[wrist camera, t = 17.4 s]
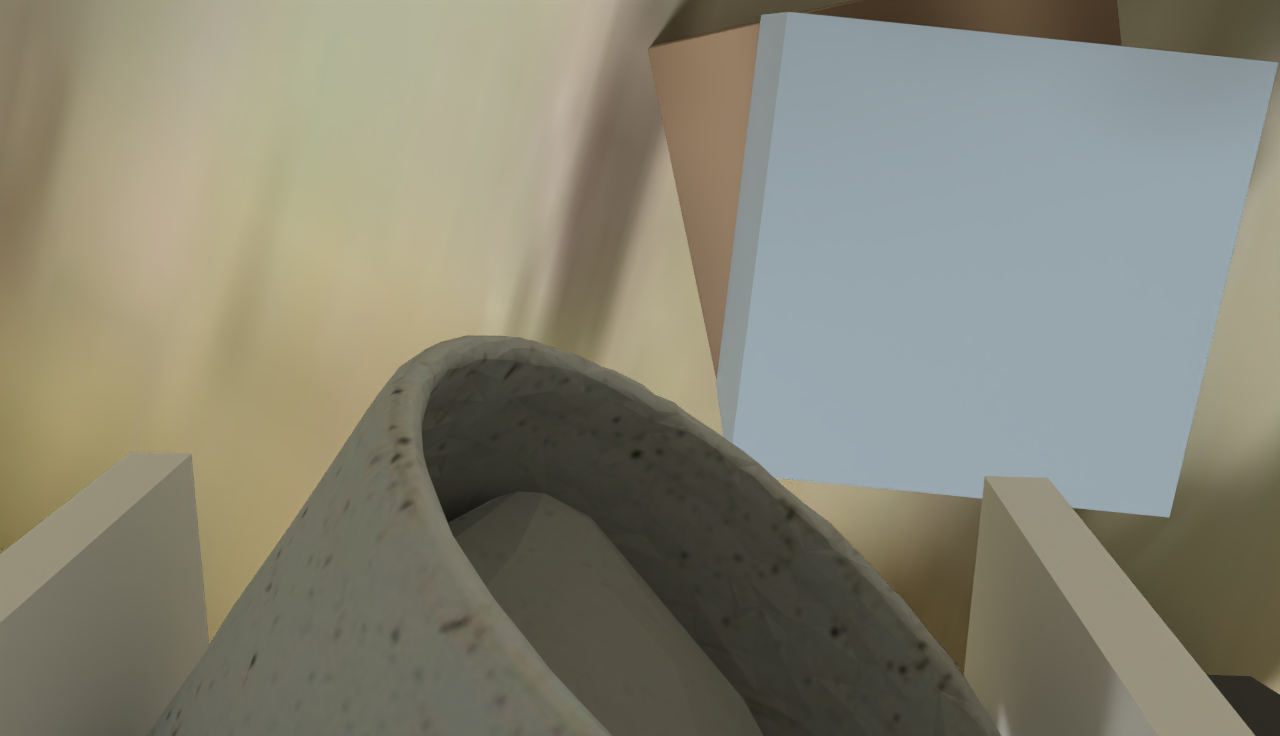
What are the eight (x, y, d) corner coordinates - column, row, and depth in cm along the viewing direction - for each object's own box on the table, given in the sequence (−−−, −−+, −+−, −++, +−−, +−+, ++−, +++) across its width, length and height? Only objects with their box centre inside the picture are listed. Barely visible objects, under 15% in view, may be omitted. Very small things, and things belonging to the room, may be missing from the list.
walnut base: (725, 408, 40) (735, 470, 34) (650, 46, 37) (648, 48, 31) (1085, 336, 39) (1157, 388, 33) (1039, -42, 36) (1110, -56, 30)
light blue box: (716, 383, 34) (728, 472, 27) (761, 14, 31) (787, 11, 24) (1069, 419, 34) (1169, 517, 27) (1145, 54, 31) (1278, 62, 24)
